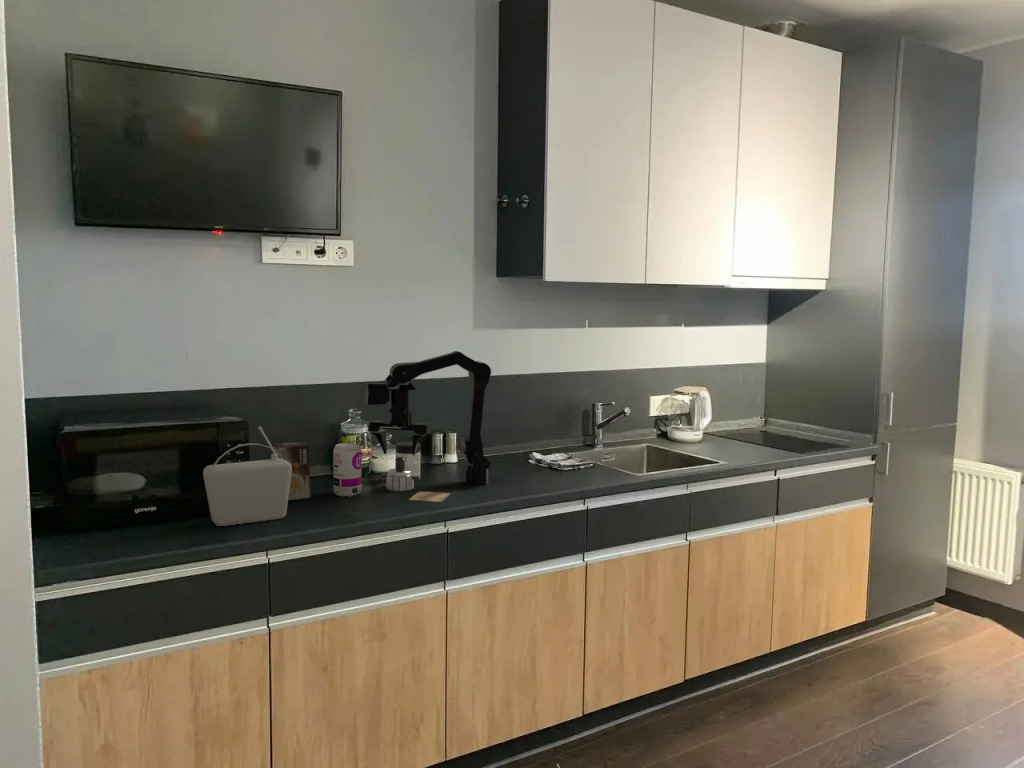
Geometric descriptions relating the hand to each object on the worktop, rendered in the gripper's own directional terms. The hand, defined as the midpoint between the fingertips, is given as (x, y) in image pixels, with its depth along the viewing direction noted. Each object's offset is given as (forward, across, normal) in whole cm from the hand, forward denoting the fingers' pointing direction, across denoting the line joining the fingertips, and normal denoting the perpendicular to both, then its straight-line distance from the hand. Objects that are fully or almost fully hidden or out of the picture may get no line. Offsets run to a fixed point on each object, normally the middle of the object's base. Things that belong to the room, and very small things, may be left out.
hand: (399, 454), depth 244 cm
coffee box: (+12, +28, +16) cm, 34 cm away
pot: (+11, 0, 0) cm, 11 cm away
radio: (+12, +29, +40) cm, 51 cm away
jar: (+11, +2, -14) cm, 18 cm away
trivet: (+11, -12, +8) cm, 18 cm away
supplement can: (+12, +14, +8) cm, 20 cm away
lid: (+6, 0, 0) cm, 6 cm away
